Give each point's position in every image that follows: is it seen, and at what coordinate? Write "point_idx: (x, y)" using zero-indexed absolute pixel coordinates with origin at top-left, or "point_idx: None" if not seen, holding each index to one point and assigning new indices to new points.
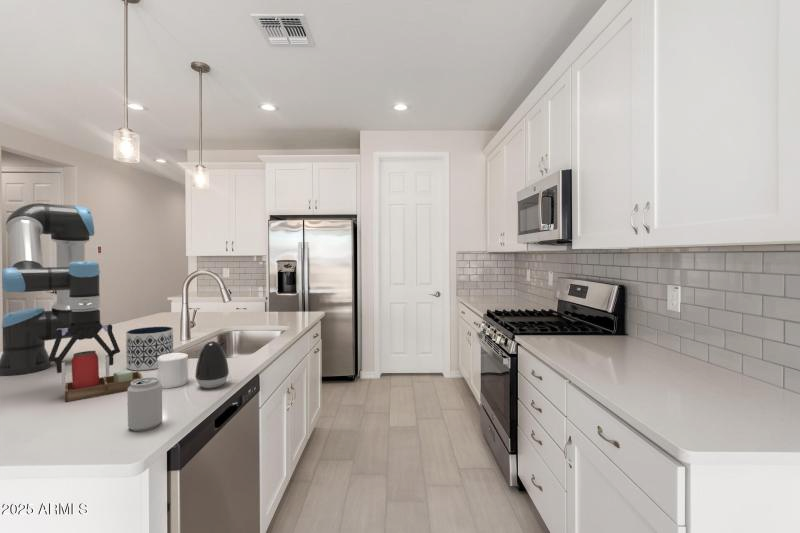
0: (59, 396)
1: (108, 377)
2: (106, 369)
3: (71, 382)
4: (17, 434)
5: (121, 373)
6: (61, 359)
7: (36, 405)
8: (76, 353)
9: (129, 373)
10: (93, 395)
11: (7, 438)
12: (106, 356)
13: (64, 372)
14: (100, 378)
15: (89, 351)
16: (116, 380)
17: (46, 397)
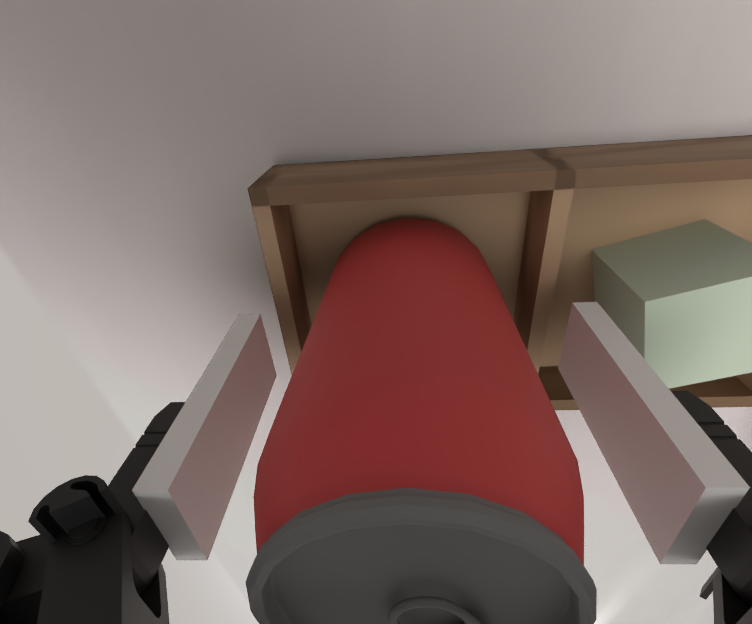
0: (252, 228)
1: (598, 185)
2: (585, 420)
3: (295, 191)
4: (243, 562)
5: (683, 362)
6: (152, 606)
7: (180, 335)
8: (279, 560)
9: (736, 370)
10: None
11: (228, 571)
12: (675, 547)
13: (244, 451)
14: (529, 190)
15: (505, 538)
16: (614, 321)
17: (171, 197)
